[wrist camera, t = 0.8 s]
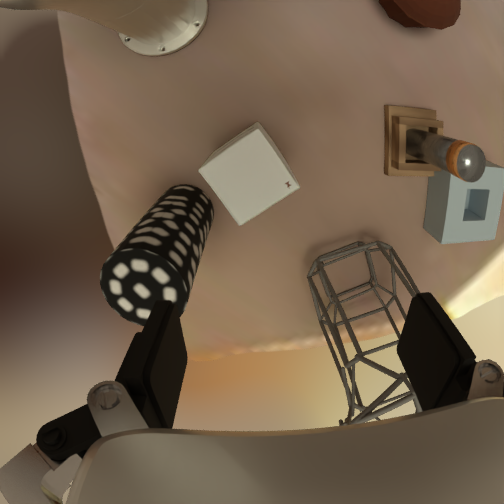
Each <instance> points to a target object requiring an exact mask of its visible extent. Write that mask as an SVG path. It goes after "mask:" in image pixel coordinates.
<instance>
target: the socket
mask: <svg viewBox="0 0 504 504" xmlns="http://www.w3.org/2000/svg"><path fill="white" fill-rule="evenodd" d="M503 191H504V168H503V167H501V166H499V165H496V164H494V163H491V162H489V161H486V166H485V171H484V173H483V175H482V177H481V178H480V179H479V180H478V181H476V182H473V183H471V182H465V181H463V180H461V179H459V178H457V177H455V176H453V175H452V174H451V173H449V172H447V171H445V170H443V169H441V171H434V176H429V182H428V193H427V203H426V211H425V219H424V227H423V228H424V229H425V230H426V231H427V232H428V233H430V234H431V235H432V236H433V237H434V238H435V239H436V240H437V241H438V242H440V243H441V244H448V243H461V242H473V241H485V240H494V239H495V235H496V230H497V225H498V220H499V215H500V210H501V204H502V198H503Z"/></svg>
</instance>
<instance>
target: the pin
mask: <svg viewBox="0 0 504 504" xmlns="http://www.w3.org/2000/svg"><path fill="white" fill-rule="evenodd" d="M406 153H407V154H409V155H411V156H413V157H415V158H418V159H420V160H422V161H425V162H427V163H429V164H432V165H434V166H436V167H438V168H440V169H443V170H445V171H447V172H449V173H451V174H452V175H453V176H455V177H457V178H459V179H461V180H463V181H465V182H471V183H473V182H476V181H478V180H479V179H480V178H481V177H482V175H483V173H484V171H485V166H486V160H485V155H484V153H483V151H482V150H481V149H480V148H479V147H478V146H476V145H475V144H472V143H469V142H466V141H462V140H456V139H453V138H449V137H445V136H442V135H438V134H434V133H431V132H427V131H423V130H419V129H414V128H412V129H409V130H407V131H406Z"/></svg>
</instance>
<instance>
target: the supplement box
mask: <svg viewBox="0 0 504 504" xmlns="http://www.w3.org/2000/svg"><path fill="white" fill-rule="evenodd" d="M198 171H199V172H200V174H201V175H202V176H203V178H204V179H205V180H206V181H207V183H208V184H209V185H210V187H211V188H212V189H213V191H214V192H215V194H216V195H217V196H218V198H219V199H220V200H221V202H222V203H223V205H224V206H225V207H226V209H227V210H228V211H229V213H230V214H231V216H232V217H233V218H234V220H235V221H236V222H237V224H238V225H239V226H241V225H243V224H245V223H246V222H248V221H249V220H251V219H252V218H254V217H255V216H257V215H258V214H260V213H262V212H263V211H265V210H266V209H268V208H270V207H271V206H273V205H274V204H276V203H277V202H279V201H280V200H282V199H283V198H285V197H287V196H288V195H290V194H291V193H293V192H295V191H296V190H298V189H300V185H299V184H298V182H297V180H296V178H295V176H294V174H293V173H292V171H291V169H290V167H289V165H288V163H287V162H286V160H285V159H284V157H283V156H282V154H281V152H280V151H279V149H278V148H277V146H276V145H275V143H274V142H273V141H272V139H271V138H270V136H269V135H268V134H267V132H266V131H265V130H264V128H263V127H262V126H261V124H260V123H259V122H256V123H255V124H253V125H252V126H250V127H249V128H247V129H246V130H244V131H243V132H241V133H240V134H238V135H237V136H235V137H234V138H233V139H231V140H230V141H228V142H227V143H225V144H224V145H223V146H221V147H220V148H218V149H217V150H215V151H214V152H213V153H212V154H211V155H210V157H209V158H208V159H207V160H206V161H205V163H204V164H203V165H202V166H201V167H200V169H199V170H198Z"/></svg>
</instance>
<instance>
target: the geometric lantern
mask: <svg viewBox="0 0 504 504" xmlns="http://www.w3.org/2000/svg"><path fill="white" fill-rule="evenodd" d="M357 244H358V247H355V248H352V249H348V250H345V249H347V248H350V247H352V246H355V245H357ZM361 245H362V246H361ZM375 245H377V246H378V247H379V248H376V249H369V250H368V248H370V247H372V246H375ZM386 249H389V252H390V256H389V255H388V253H387V252H386ZM342 250H345V251H342ZM379 250H381V252H382V253H383V254H384V256H385V257H386V259H387V260H388V261H389V263H390V264H391V273H392V286H393V293H392V292H390V291H388V290H387V289H385V288H383V287H382V286H380V285H379V284H378V283H377V279H376V275H375V271H374V267H373V263H372V259H371V255H370V252H372V251H379ZM339 251H342V252H339ZM355 251H356V252H355ZM362 251H365V253H366V257H367V260H368V264H369V268H370V272H371V276H372V277H371V279H370V281H369V282H368V283H366V284H363V285H361V286H358V287H356V288H353V289H351V290H348V291H345V292H343V293H340V294H338V295H336V293H335V291H334V289H333V287H332V285H331V283H330V281H329V278H328V276H327V274H326V272H325V270H324V268H323V267H324V266H327V265H329V264H332V263H334V262H337V261H339V260H342V259H345V258H347V257H350V256H352V255H355V254H357V253H360V252H362ZM337 252H338V253H337ZM352 252H353V253H352ZM334 253H335V254H334ZM348 253H351V254H348ZM345 254H348V255H346V256H343V257H340V258H338V259H335V260H333V261H330V262H328V263H325V264H324V263H323V261H325V260H328V259H332V258H335V257H338V256H342V255H345ZM394 257H395V259H396V261H397V262H398V264H399V265H400V267H401V269H402V270H403V272H404V274H405V276H406V277H407V279H408V281H409V282H410V284H411V286H412V288H413V289H414V291H415V292H414V291H413V289H412V288H411V286H410V285H409V283H408V282H407V280H406V279H405V277H404V276H403V274H402V273H401V272H400V270H399V269H398V267H397V266H396V264H395V263H394ZM315 267H317V270H318V271H316V272H314V273H313V271H314V269H315ZM395 272H396V273H397V275H398V276H399V278H400V279H401V281H402V282H403V284H404V285H405V287H406V288H407V290H408V291H409V293H410V294H411V296H412V298H413V297H415V295H416V294H417V293H420V291H419V290H418V288H417V286H416V285H415V283H414V281H413V279H412V278H411V276H410V274H409V273H408V271H407V269H406V268H405V266H404V265H403V263H402V261H401V260H400V258H399V257H398V255H397V254H396V252H395V250H394V249H393V248H392V246H390V245H388V244H386V243H383V242H381V241H375V242H371V243H368V244H365V243H361V242H356V243H353V244H351V245H348V246H346V247H343V248H341V249H338V250H335V251H333V252H330V253H328V254H325V255H322V256H320V257H318V259H316V260H315V261H314V263H313V265H312V267H311V269H310V271H309V273H308V275H307V279H308V282H309V286H310V289H311V293H312V297H313V301H314V304H315V308H316V312H317V316H318V320H319V323H320V325H321V328H322V331H323V333H324V336H325V338H326V341H327V343H328V346H329V348H330V351H331V353H332V356H333V358H334V361H335V364H336V366H337V369H338V371H339V374H340V377H341V379H342V382H343V384H344V387H345V390H346V395H347V400H348V405H349V412H348V417H347V418H346V419H345V422H344V423H343V421H342V420H339V424H340V426H344V425H352V424H359V423H365V422H367V421H369V420H371V419H374V418H375V419H376V420H380V419H379V418H378V416H380V415H382V414H384V413H387V412H388V411H391V410H393V409H395V408H397V407H399V406H401V405H403V404H405V403H407V402H409V401H411V400H412V399H413V401H414V404H415V407H416V412H415V413H419V412H423V411H422V408H421V406H420V404H419V401H418V399H417V396H416V394H415V392H414V389H413V387H412V385H411V383H410V382H409V381H408V379H407V378H408V376H407V374H406V372H405V373H404V374H403V373H400V374H398V373H396V372H394V371H392V370H389V369H387V368H385V367H383V366H381V365H379V364H377V363H375V362H373V361H371V360H369V359H367V358H365V357H363V356H365V355H367V354H371V353H374V352H376V351H379V350H382V349H385V348H388V347H391V346H393V345H396V344H398V342H399V340H397V341H394V342H391V343H388V344H386V345H383V346H380V347H377V348H374V349H371V350H368V351H365V352H362V351H361V348H360V346H359V344H358V341H357V339H356V336H355V334H354V332H353V330H352V327H351V325H350V323H349V322H351V321H354V320H357V319H360V318H363V317H366V316H369V315H372V314H374V313H377V312H380V311H383V310H385V312H386V314H387V316H388V318H389V320H390V322H391V324H392V326H393V328H394V330H395V332H396V334H397V337H398V339H400V336H401V335H400V333H399V331H398V329H397V327H396V325H395V323H394V321H393V319H392V317H391V315H390V313H389V311H388V309H387V308H388V307H389V306H390V304H391V303H392V302H393V301H394V299H395V301H396V303H397V305H398V307H399V309H400V311H401V313H402V315H403V317H404V320H406V317H407V316H406V314H405V312H404V310H403V308H402V306H401V304H400V302H399V299H398V297H397V295H396V282H395ZM317 273H319V275H320V278H321V280H322V283H323V286H324V289H325V292H326V294H327V296H328V297H329V299H330V303H329V305H328V307H327V308H325V306H324V304H323V302H322V299H321V297H320V295H319V293H318V290H317V288H316V286H315V284H314V282H313V280H312V278H311V277H312V276H314V275H316V274H317ZM372 280H374V282H375V285H374V286H373V285H372V283H371V282H372ZM369 284H370V286H371V288H370V289H368V290H366V291H363V292H361V293H359V294H356V295H354V296H351V297H349V298H347V299H344V300H342V301H339V299H338V296H341V295H344V294H346V293H349V292H351V291H354V290H357V289H359V288H362V287H364V286H367V285H369ZM327 286H328V287H327ZM376 286H378V287H379V288H381V289H383V290H384V291H386V292H387V293H389V294H391V295H392V296H393V297H392V298H391V299H390V301H389V302H388V303H387V304H386V305H385V304H384V303H383V301H382V299H381V298H380V296H379V294H378V293H377V291H376V289H375V287H376ZM328 288H329V290H328ZM371 290H374V292H375V294H376V295H377V297H378V299H379V300H380V302H381V304H382V305H383V307H382V308H379V309H376V310H373V311H370V312H367V313H365V314H362V315H359V316H356V317H353V318H350V319H347V317H346V314H345V312H344V310H343V308H342V306H341V304H340V303H343V302H345V301H348V300H350V299H352V298H355V297H357V296H360V295H362V294H364V293H367V292H369V291H371ZM329 291H330V293H331V295H330V293H329ZM415 293H416V294H415ZM331 297H333V299H334V301H332V298H331ZM317 301H318V302H317ZM318 303H319V305H320V308H321V310H322V312H323V315H322V316H321V314H320V310H319V306H318ZM332 303H333V304H335V311H334V322H333V323H332V322H331V320H330V317H329V315H328V313H327V311H328V309H329V308H330V306H331V304H332ZM337 308H338V311H339V313H340V315H341V317H342V320H343V321H341V322H337V323H336V314H337ZM323 317H325V319H326V321H324V320H322V319H323ZM324 324H326V325H328V327H329V329H330V331H331V334H332V336H333V339H334V341H335V344H336V346H337V348H338V350H339V353H340V356H341V358H342V361H343V363H344V366H345V367H346V368H347V370H348V373H349V376H350V379H351V383H352V394H351V391H350V388H349V386H348V383H347V378H346V373H345V368H344V367H341V366H340V363H339V361H338V358H337V356H336V353H335V351H334V349H333V346H332V343H331V341H330V339H329V336H328V334H327V331H326V329H325V326H324ZM342 324H345V326H346V329H347V331H348V333H349V336H350V338H351V340H352V342H353V345H354V347H355V349H356V351H357V354H356V355H355V358H354V359H352V360H351V361H348V359H347V355H346V352H345V349H344V346H343V343H342V340H341V337H340V334H339V331H338V328H337V326H339V325H342ZM488 360H489V359H488ZM358 361H362V362H363V363H365V364H367V365H369V366H371V367H373V368H375V369H377V370H379V371H381V372H383V373H385V374H387V375H389V376H391V377H393V378H395V379H397V380H396V381H395V382H394V383H393V384H392V385H391V386H390V387H389V388H387V389H386V390H385V391H384V392H383V393H382V394H381V395H380V396H379V397H378V398H377V399H376V400H375V401H373V402H372V403H371V404H370V405H369V406H368V407H365V406H363V404H362V401H361V398H360V395H359V392H358V388H357V385H356V382H355V363H357V362H358ZM490 361H492V360H490ZM493 362H494V361H493ZM476 363H478V362H476ZM495 363H496V362H495ZM496 364H497V363H496ZM351 366H352V370H351ZM403 381H404V383H405V384H406V385H407V387H408V388H409V390H410V391H408V392H406V393H403V394H401V395H398V396H396V397H393V398H390V399H388V400H385V401H384V399H386V398H387V397H388V396H389V395H390V394H391V393H392V392H393V391H394V390H395V389H396V388H397V387H398V386H399V385H400V384H401V383H402V382H403ZM408 394H409V395H408ZM406 395H407V396H406ZM355 396H356V399H357V402H358V404H356V403H355ZM403 396H405V397H403ZM401 397H403V398H401ZM398 398H401V399H399V400H397V401H395V402H393V403H391V404H389V405H387V406H385V407H383V408H380V409H378V410H376V411H374V412H372V411H373V410H374V409H375V408H376V407H377V406H379V405H382V404H384V403H387V402H390V401H393V400H395V399H398ZM354 408H356V409H359V410H360V411H362V412H361V413H360V414H359V415H358V416H356V417H355V418H354V419H353V420H352V421H351V417H352V416H354Z"/></svg>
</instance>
